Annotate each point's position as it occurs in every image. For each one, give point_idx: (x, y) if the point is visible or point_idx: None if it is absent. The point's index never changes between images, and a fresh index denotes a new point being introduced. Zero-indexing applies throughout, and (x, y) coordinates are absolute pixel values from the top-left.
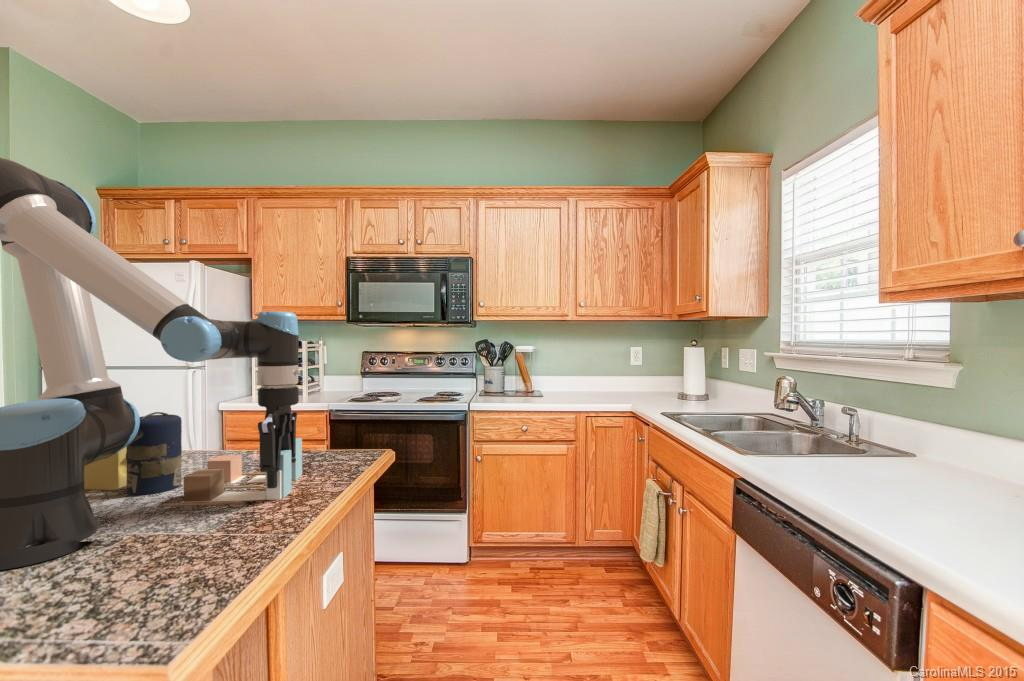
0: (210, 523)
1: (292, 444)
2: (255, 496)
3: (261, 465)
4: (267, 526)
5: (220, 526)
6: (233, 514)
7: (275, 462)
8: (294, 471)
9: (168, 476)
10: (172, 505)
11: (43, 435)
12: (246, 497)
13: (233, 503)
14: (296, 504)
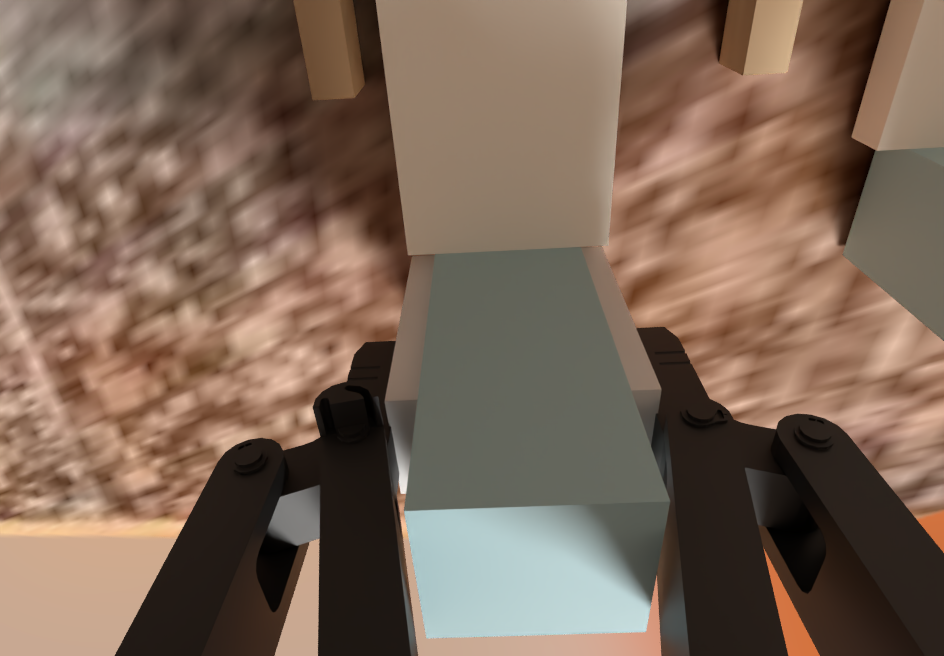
0: (68, 24)
1: (816, 636)
2: (483, 153)
3: (206, 500)
4: (138, 383)
5: (52, 135)
6: (256, 96)
7: (293, 583)
8: (912, 303)
9: None
10: None
11: None
12: (460, 89)
13: (308, 62)
14: None
